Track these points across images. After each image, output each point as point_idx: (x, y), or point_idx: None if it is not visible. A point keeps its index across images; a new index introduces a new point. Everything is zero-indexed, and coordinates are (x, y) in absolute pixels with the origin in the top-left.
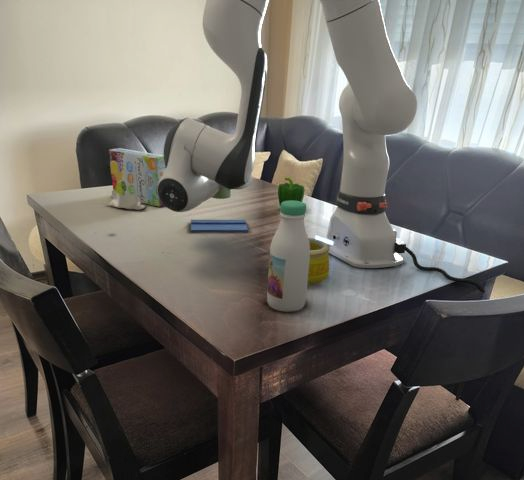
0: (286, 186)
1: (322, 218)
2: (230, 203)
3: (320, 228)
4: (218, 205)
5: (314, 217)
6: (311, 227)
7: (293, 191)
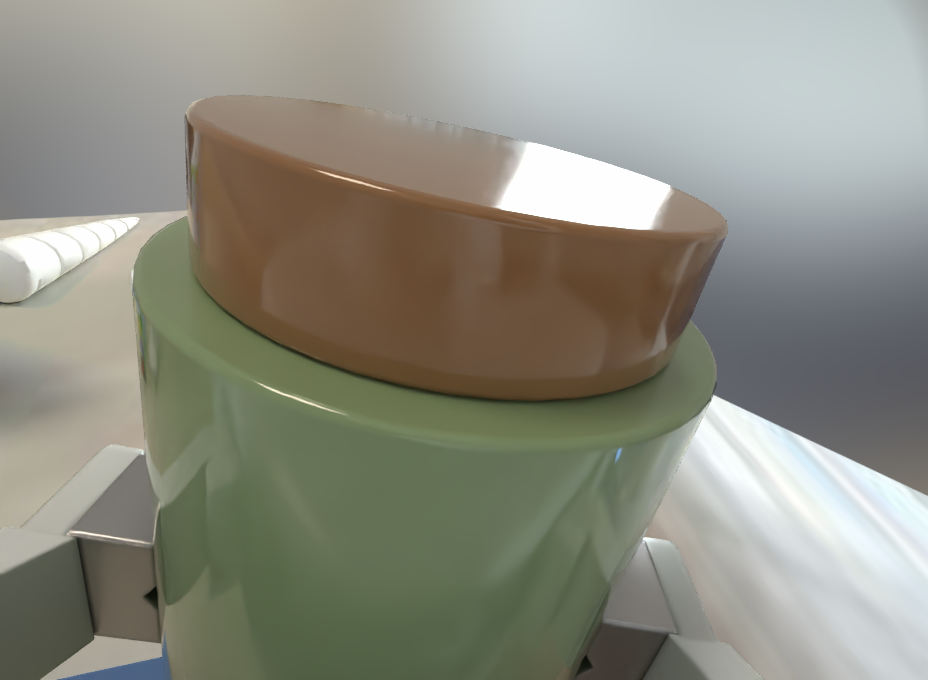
0: None
1: (722, 476)
2: None
3: (813, 599)
4: None
5: (691, 469)
6: (772, 593)
7: None
